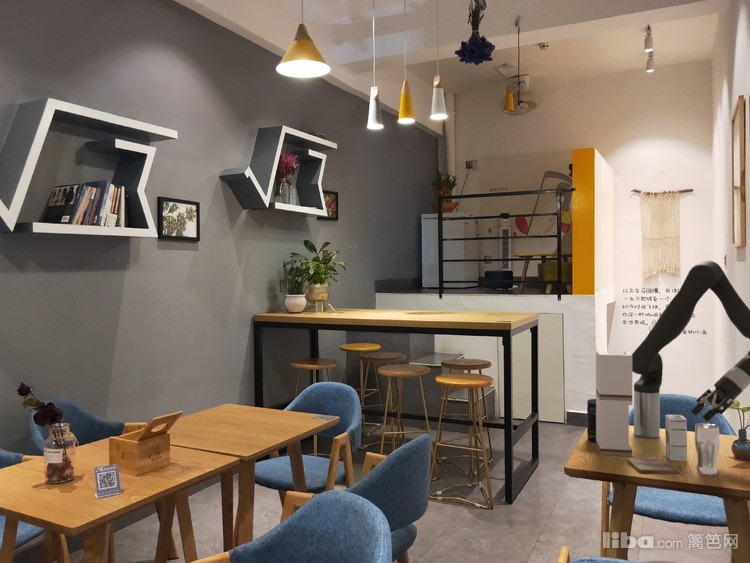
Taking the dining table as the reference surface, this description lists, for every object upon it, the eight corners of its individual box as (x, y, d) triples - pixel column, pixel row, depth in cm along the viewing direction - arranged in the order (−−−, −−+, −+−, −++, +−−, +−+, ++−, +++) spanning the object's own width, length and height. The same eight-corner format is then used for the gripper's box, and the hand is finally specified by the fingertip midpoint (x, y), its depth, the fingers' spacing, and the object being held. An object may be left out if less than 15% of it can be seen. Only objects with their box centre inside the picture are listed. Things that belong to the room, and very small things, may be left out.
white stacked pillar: (632, 456, 214) (632, 355, 214) (599, 454, 217) (599, 354, 217) (626, 447, 226) (626, 351, 225) (596, 445, 228) (596, 350, 228)
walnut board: (626, 461, 208) (626, 458, 208) (663, 461, 208) (663, 459, 208) (640, 473, 196) (640, 469, 196) (678, 473, 196) (678, 470, 196)
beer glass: (711, 469, 200) (711, 422, 200) (724, 476, 193) (724, 428, 193) (690, 469, 200) (690, 423, 199) (702, 476, 193) (702, 428, 193)
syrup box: (687, 461, 208) (687, 418, 208) (669, 460, 209) (669, 417, 209) (683, 456, 214) (683, 414, 213) (664, 455, 215) (664, 414, 215)
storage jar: (619, 440, 234) (619, 401, 234) (606, 445, 228) (606, 405, 227) (595, 435, 242) (594, 397, 241) (582, 440, 235) (581, 401, 235)
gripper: (714, 372, 217) (681, 404, 218) (736, 378, 203) (700, 413, 204) (730, 387, 217) (696, 419, 218) (753, 394, 203) (717, 429, 204)
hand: (698, 416), depth 211 cm, fingers open, 8 cm apart
